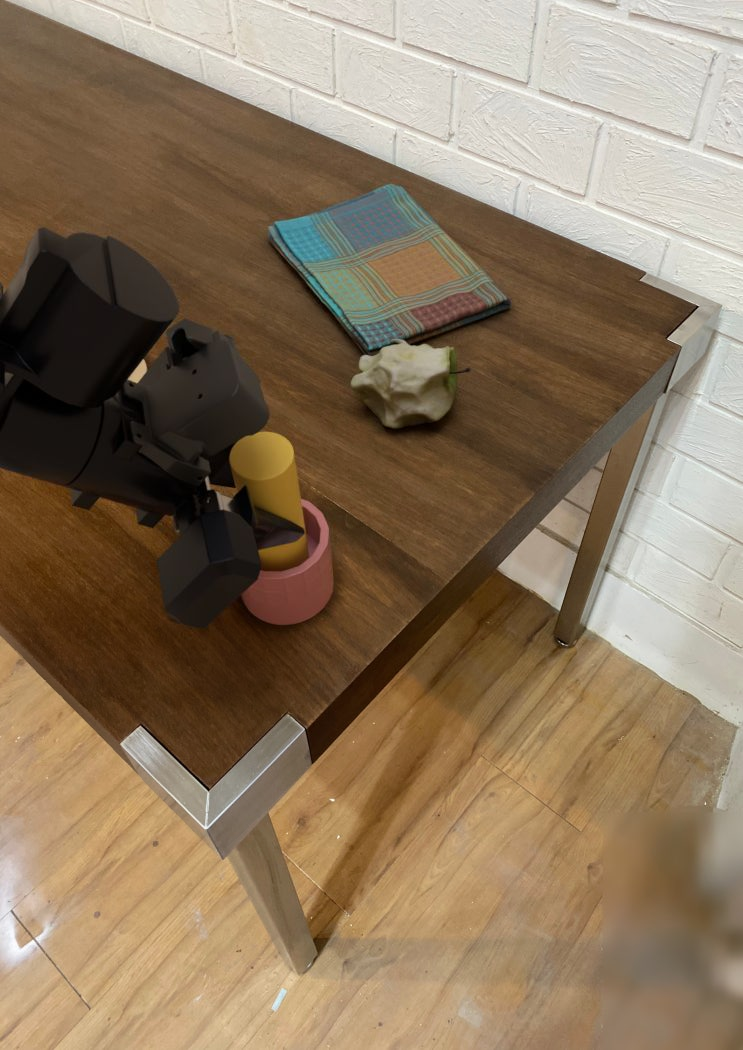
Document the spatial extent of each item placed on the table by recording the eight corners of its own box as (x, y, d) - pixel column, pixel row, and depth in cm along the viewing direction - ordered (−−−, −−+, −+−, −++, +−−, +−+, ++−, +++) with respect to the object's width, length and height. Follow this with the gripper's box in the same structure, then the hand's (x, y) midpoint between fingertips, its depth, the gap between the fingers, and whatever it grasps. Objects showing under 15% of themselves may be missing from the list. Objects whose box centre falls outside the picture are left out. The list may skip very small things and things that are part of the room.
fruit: (474, 407, 73) (490, 355, 65) (401, 464, 70) (409, 415, 62) (407, 346, 75) (415, 288, 68) (334, 398, 72) (334, 344, 65)
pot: (254, 638, 57) (241, 591, 52) (230, 562, 61) (215, 512, 56) (346, 607, 59) (342, 559, 53) (316, 534, 63) (310, 483, 57)
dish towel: (400, 197, 91) (400, 177, 89) (514, 308, 79) (517, 287, 77) (266, 241, 87) (263, 220, 85) (365, 366, 74) (365, 345, 72)
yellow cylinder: (264, 592, 56) (238, 487, 46) (249, 549, 58) (221, 441, 49) (317, 575, 57) (302, 468, 47) (300, 534, 59) (283, 424, 49)
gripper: (183, 469, 33) (418, 551, 44) (135, 229, 44) (334, 342, 55) (59, 608, 39) (296, 652, 49) (43, 363, 49) (241, 442, 60)
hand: (293, 511), depth 53 cm, fingers closed on yellow cylinder, 4 cm apart
